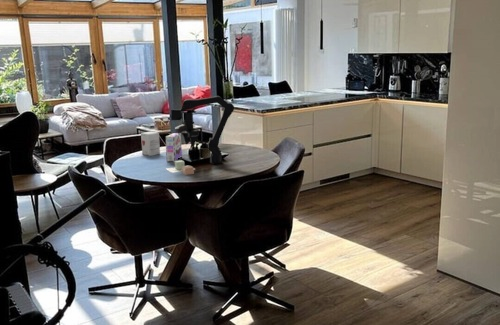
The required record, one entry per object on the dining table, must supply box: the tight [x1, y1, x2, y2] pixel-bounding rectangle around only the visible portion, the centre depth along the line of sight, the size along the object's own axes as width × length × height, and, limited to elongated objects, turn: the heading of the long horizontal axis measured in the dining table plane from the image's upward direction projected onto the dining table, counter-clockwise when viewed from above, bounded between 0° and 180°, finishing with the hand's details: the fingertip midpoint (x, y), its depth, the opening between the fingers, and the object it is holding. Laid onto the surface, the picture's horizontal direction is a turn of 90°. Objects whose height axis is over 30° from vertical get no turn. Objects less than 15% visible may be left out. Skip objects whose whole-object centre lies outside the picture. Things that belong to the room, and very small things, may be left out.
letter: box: [165, 166, 182, 174], centre depth 280 cm, size 15×11×1 cm
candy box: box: [164, 132, 183, 163], centre depth 304 cm, size 14×6×16 cm, turn 168°
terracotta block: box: [181, 165, 195, 176], centre depth 269 cm, size 5×5×4 cm
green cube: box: [174, 159, 186, 170], centre depth 280 cm, size 4×4×4 cm
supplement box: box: [140, 130, 161, 157], centre depth 322 cm, size 9×9×15 cm
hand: (189, 145), depth 289 cm, fingers open, 9 cm apart
